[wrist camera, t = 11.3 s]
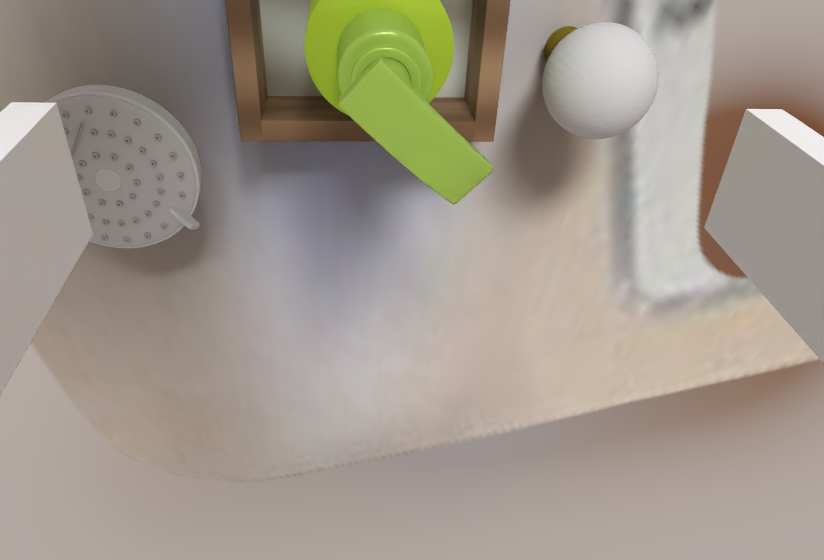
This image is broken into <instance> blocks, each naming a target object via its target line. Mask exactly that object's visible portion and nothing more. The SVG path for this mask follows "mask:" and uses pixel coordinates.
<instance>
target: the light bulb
mask: <svg viewBox="0 0 824 560" xmlns="http://www.w3.org/2000/svg"><path fill="white" fill-rule="evenodd" d="M545 58H546V61H547V63H546V65H545V69H544V73H543V79H542V92H543V97H544V102H545V104H546V107H547V109H548V111H549V113H550V114H551V116H552V118H553V119H554V120H555V121H556V122H557V123H558V124H559V125H560V126H561V127H562V128H564V129H565V130H566V131H568V132H570V133H572V134H574V135H576V136H579V137H583V138H588V139H604V138H610V137H613V136H616V135H619V134H621V133H623V132H625V131H627V130H628V129H630V128H631V127H633V126H634V125H635V124H636V123H638V122H639V121H640V120H641V119H642V117H643V116H644V115H645V114H646V112H647V111H648V110H649V108H650V106H651V104H652V102H653V100H654V98H655V95H656V92H657V87H658V77H659V74H658V65H657V61H656V58H655V55H654V53H653V51H652V49H651V47H650V46H649V44H648V43H647V42H646V40H645V39H644V38H643V37H642V36H640V35H639V34H638V33H637V32H636V31H634V30H632V29H630V28H629V27H626V26H623V25H621V24H617V23H611V22H598V23H593V24H588V25H586V26H583V27H580V28H575V27H563V28H560V29H558V30H557V31H555V32H554V33H553V34H552V35H551V36H550V37H549V39H548V40H547V43H546V46H545Z"/></svg>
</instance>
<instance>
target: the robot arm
mask: <svg viewBox="0 0 824 560" xmlns="http://www.w3.org/2000/svg"><path fill="white" fill-rule="evenodd" d="M705 229H706V230H707V231H708V232H709V234H710V235H711V236H712V237H713V238H714V239H715V240H716V241H717V243H718V244H719V245H720V246H721V247H722V248H723V250H724V251H725V252H726V253H727V254H728V255H729V256H730V257H731V259H732V260H733V261H734V262H735V263H736V264H737V265H738V267H739V268H740V269H741V270H742V271H743V272H744V273H745V274H746V276H747V277H748V278H749V279H750V280H751V281H752V282H753V284H754V285H755V286H756V287H757V288H758V289H759V290H760V292H761V293H762V294H763V295H764V296H765V297H766V298H767V299H768V301H769V302H770V303H771V304H772V305H773V306H774V307H775V309H776V310H777V311H778V312H779V313H780V314H781V315H782V317H783V318H784V319H785V320H786V321H787V322H788V323H789V324H790V326H791V327H792V328H793V329H794V330H795V331H796V332H797V334H798V335H799V336H800V337H801V338H802V339H803V340H804V341H805V343H806V344H807V345H808V346H809V347H810V348H811V349H812V351H813V352H814V353H815V354H816V355H817V356H818V357H819V359H820V360H821V361H822V362H823V363H824V137H822V136H821V135H819V134H818V133H816V132H815V131H814V130H812V129H811V128H809V127H808V126H806V125H804V124H803V123H802V122H800V121H799V120H797V119H796V118H794V117H793V116H791V115H790V114H788V113H787V112H785V111H784V110H781V109H746V111H745V114H744V117H743V120H742V123H741V126H740V128H739V131H738V134H737V137H736V140H735V142H734V145H733V148H732V151H731V154H730V157H729V159H728V162H727V165H726V168H725V171H724V174H723V177H722V179H721V182H720V185H719V188H718V191H717V193H716V196H715V199H714V202H713V205H712V208H711V211H710V213H709V216H708V219H707V222H706V225H705ZM92 235H93V232H92V228H91V225H90V221H89V218H88V214H87V210H86V207H85V203H84V200H83V196H82V192H81V189H80V185H79V182H78V178H77V175H76V171H75V167H74V164H73V160H72V157H71V153H70V149H69V146H68V142H67V139H66V135H65V131H64V128H63V124H62V121H61V117H60V113H59V110H58V106H57V103H37V102H11V103H10V104H9V105H8V106H7V107H6V108H4V109H3V110H2V111H1V112H0V395H1V393H2V391H3V390H4V388H5V386H6V384H7V383H8V381H9V379H10V378H11V376H12V374H13V372H14V370H15V369H16V367H17V365H18V364H19V362H20V360H21V358H22V357H23V355H24V353H25V351H26V350H27V348H28V346H29V345H30V343H31V341H32V339H33V338H34V336H35V334H36V332H37V331H38V329H39V327H40V325H41V324H42V322H43V320H44V318H45V317H46V315H47V313H48V312H49V310H50V308H51V306H52V305H53V303H54V301H55V299H56V298H57V296H58V294H59V292H60V291H61V289H62V287H63V285H64V284H65V282H66V280H67V278H68V277H69V275H70V273H71V272H72V270H73V268H74V266H75V265H76V263H77V261H78V259H79V258H80V256H81V254H82V252H83V251H84V249H85V247H86V245H87V244H88V242H89V240H90V238H91V237H92Z"/></svg>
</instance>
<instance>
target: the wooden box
mask: <svg viewBox="0 0 824 560" xmlns="http://www.w3.org/2000/svg"><path fill="white" fill-rule="evenodd" d="M310 1H311V0H225V2H226V11H227V20H228V28H229V37H230V46H231V55H232V63H233V72H234V81H235V90H236V98H237V107H238V116H239V125H240V133H241V141H376V140H375V139H373V138H372V137H371V136H370V135H369V134H368V133H367V132H366V131H365V130H364V129H363V128H362V127H360V126H359V125H358V124H357V123H356V122H355V121H354V120H353V119H352V118H351V117H350V116H349V115H347V114H345V113H343V112H341V111H340V110H338V109H337V108H335V107H334V106H333V105H332V104H330V103H329V102H328V101H327V100H326V99H325V98H324V97H323V95H322V94H321V93H320V91H319V90H318V89H317V87H316V85H315V84H314V82H313V80H312V78H311V75H310V73H309V70H308V67H307V63H306V57H305V33H306V27H307V20H308V14H309V7H310ZM440 2H441V3H442V5H443V7H444V9H445V11H446V13H447V15H448V17H449V20H450V23H451V27H452V31H453V38H454V55H453V61H452V66H451V69H450V72H449V75H448V77H447V79H446V81H445V83H444V85H443V87H442V88H441V90H440V91H439V93H438V94H437V95H436V96H435V98H434V99H433V100H432V101H431V102H430V103H429V105H430V106H431V107H432V108H433V109H434V110H435V111H436V112H437V113H438V114H439V115H440V116H441V117H442V118H443V119H444V120H446V121H447V122H448V123H449V124H450V125H451V126H452V127H453V128H454V129H455V130H456V131H457V132H458V133H459V134H460V135H461V136H462V137H463V138H464V139H465V140H466V141H471V142H493V141H494V133H495V125H496V116H497V108H498V99H499V91H500V83H501V74H502V66H503V57H504V49H505V41H506V32H507V24H508V16H509V7H510V0H440Z"/></svg>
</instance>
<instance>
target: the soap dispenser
mask: <svg viewBox="0 0 824 560" xmlns="http://www.w3.org/2000/svg"><path fill="white" fill-rule="evenodd" d="M453 55H454V38H453V31H452V27H451V23H450V20H449V17H448V15H447V13H446V11H445V9H444V7H443V5H442V3H441V2H440V0H311V1H310V7H309V14H308V20H307V27H306V33H305V57H306V63H307V67H308V70H309V73H310V75H311V78H312V80H313V82H314V84H315V85H316V87H317V89H318V90H319V91H320V93H321V94H322V95H323V97H324V98H325V99H326V100H327V101H328V102H329V103H330V104H332V105H333V106H334V107H335V108H337V109H338V110H340V111H341V112H343V113H345V114H347V115H349V116H350V117H351V118H352V119H353V120H354V121H355V122H356V123H357V124H358V125H359V126H360V127H362V128H363V129H364V130H365V131H366V132H367V133H368V134H369V135H370V136H371V137H372V138H373V139H375V140H376V141H377V142H378V143H379V144H380V145H381V146H382V147H383V148H384V149H385V150H387V151H388V152H389V153H390V154H391V155H392V156H393V157H394V158H395V159H397V160H398V161H399V162H400V163H401V164H402V165H403V166H405V167H406V168H407V169H408V170H409V171H410V172H412V173H413V174H414V175H415V176H416V177H418V178H419V179H420V180H421V181H423V182H424V183H425V184H426V185H428V186H429V187H430V188H431V189H433V190H434V191H435V192H437V193H438V194H439V195H441V196H442V197H443V198H445V199H446V200H447V201H449V202H450V203H452V204H456V203H457V202H459V201H460V200H461V199H462V198H463V197H464V196H465V195H466V194H468V193H469V192H470V191H471V190H472V189H473V188H474V187H475V186H477V185H478V184H479V183H480V182H481V181H482V180H483V179H484V178H485V177H487V176H488V175H489V174H490V173H491V172H492V171H493V169H494V168H493V167H492V166H491V165H490V163H489V162H488V161H487V160H486V158H485V157H484V156H483V155H482V154H481V153H480V152H479V151H478V150H476V149H475V148H474V147H473V146H472V145H471V144H470V143H469V142H468V141H466V140H465V139H464V138H463V137H462V136H461V135H460V134H459V133H458V132H457V131H456V130H455V129H454V128H453V127H452V126H451V125H450V124H449V123H448V122H447V121H446V120H444V119H443V118H442V117H441V116H440V115H439V114H438V113H437V112H436V111H435V110H434V109H433V108H432V107H431V106H430V105H429V103H430V102H431V101H432V100H433V99H434V98H435V96H436V95H437V94H438V93H439V91H440V90H441V88H442V87H443V85H444V83H445V81H446V79H447V77H448V75H449V72H450V69H451V66H452V61H453Z"/></svg>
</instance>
